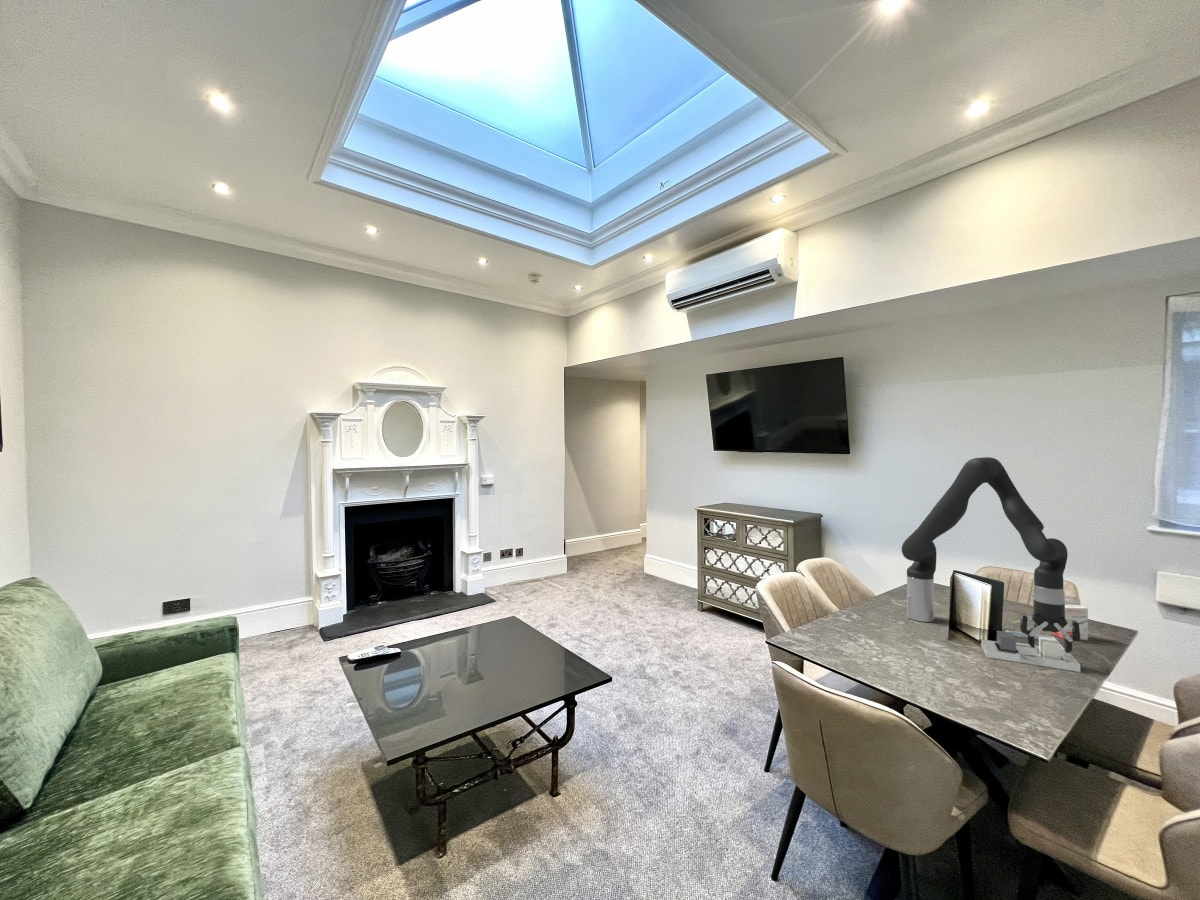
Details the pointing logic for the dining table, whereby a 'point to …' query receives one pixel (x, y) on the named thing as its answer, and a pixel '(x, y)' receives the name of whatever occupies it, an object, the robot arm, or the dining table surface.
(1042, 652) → the plug
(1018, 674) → the dining table surface
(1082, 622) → the ink cartridge box
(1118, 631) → the dining table surface
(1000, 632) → the grey fixture base
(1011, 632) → the tray
